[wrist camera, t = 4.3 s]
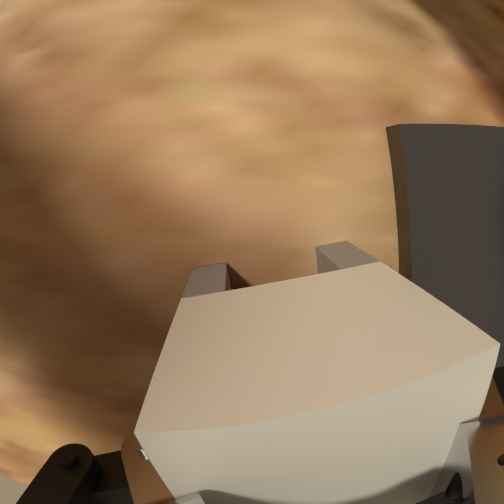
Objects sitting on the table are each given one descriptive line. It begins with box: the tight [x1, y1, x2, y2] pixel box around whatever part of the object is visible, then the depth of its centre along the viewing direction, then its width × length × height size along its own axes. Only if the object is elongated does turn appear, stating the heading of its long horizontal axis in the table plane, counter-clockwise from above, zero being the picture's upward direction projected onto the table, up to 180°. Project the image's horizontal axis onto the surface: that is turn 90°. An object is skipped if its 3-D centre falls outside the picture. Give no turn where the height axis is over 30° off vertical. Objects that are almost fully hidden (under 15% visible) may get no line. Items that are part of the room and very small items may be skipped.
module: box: [134, 241, 500, 504], centre depth 8 cm, size 6×6×8 cm
